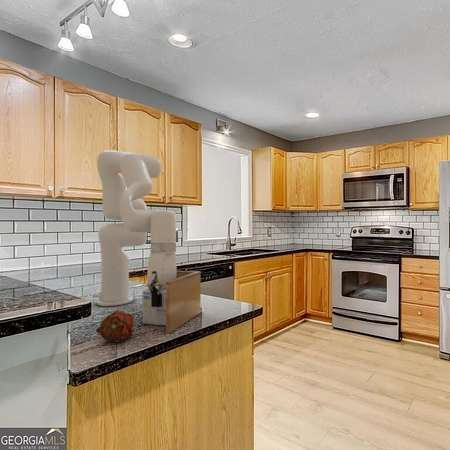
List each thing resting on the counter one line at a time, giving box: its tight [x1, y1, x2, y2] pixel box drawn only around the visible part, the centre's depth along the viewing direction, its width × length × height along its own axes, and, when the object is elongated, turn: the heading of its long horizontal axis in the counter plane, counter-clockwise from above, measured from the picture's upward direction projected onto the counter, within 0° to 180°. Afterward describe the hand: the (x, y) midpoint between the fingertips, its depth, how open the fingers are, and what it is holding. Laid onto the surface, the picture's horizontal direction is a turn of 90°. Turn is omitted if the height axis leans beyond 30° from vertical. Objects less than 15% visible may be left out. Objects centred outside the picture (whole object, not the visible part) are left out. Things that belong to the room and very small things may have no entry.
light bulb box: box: [142, 286, 166, 326], centre depth 104 cm, size 11×7×11 cm, turn 78°
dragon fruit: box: [95, 309, 135, 343], centre depth 89 cm, size 8×8×12 cm
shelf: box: [162, 270, 202, 334], centre depth 105 cm, size 14×21×15 cm
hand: (163, 303), depth 104 cm, fingers closed on light bulb box, 6 cm apart
